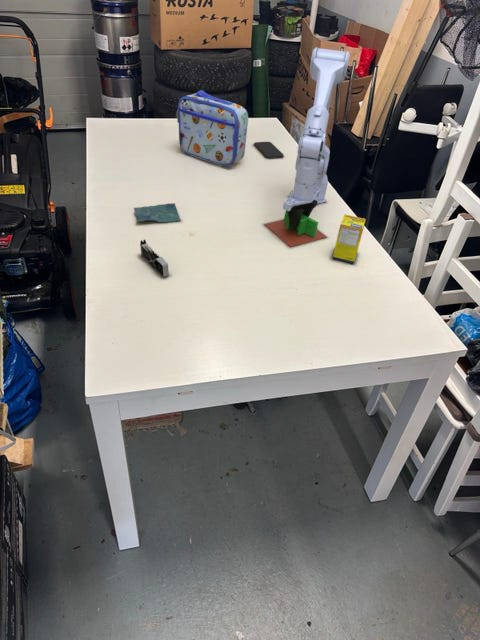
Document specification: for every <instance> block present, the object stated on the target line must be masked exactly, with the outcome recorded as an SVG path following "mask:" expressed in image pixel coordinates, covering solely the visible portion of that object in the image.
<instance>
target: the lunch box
mask: <svg viewBox="0 0 480 640" xmlns="http://www.w3.org/2000/svg"><path fill="white" fill-rule="evenodd" d="M175 118H177V119H176V120H177V121H176V122H177V124H178V142H179V147H180V149H181V151H183V152H184V153H185V154H186V155H189V156H191V157H193V158H196V159H199V160H202V161H204V162H207V163H212V164H216V165H220V166H223V167H230V166H232V165H233V164H235V163H236V162H240V161H242V160H243V159H244V156H245V153H246V145H247V144H246V143H247V134H248V127H249V126H248V125H249V113H248V111H247V109H245V107H243V106H242V105H240V104H237V103H235V102H231V101H228V100H225V99H222V98H218V97H214V96H212V95H211V94H209V93H207V92H206V91H204V90H203V89H200V90H198V91H196V93H192V94H187V95H185V96H182V97H180V99H179V101H178V103H177V111H176V114H175Z"/></svg>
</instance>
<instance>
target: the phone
mask: <svg viewBox="0 0 480 640" xmlns="http://www.w3.org/2000/svg"><path fill="white" fill-rule="evenodd" d="M253 146H254V147H255V148H256V149H257V150H258V151H259V152H260V153H261V154H262V155H263V156H264V157H265V158H266V159H279V158H284V156H285V155H284V153H283V152H281V151H280V150H279V148H278V147H276V146H275V145H274V144H273V142H271V141H256V142H254V143H253Z"/></svg>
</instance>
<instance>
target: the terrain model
mask: <svg viewBox="0 0 480 640" xmlns="http://www.w3.org/2000/svg"><path fill="white" fill-rule="evenodd" d="M133 210H134V214H135V217H136V222H145V221H153V222H158V223H167V222H173V223H174V222H179V221H181V217H180V215H179V211H178V209H177V206H176V203H174V202H172V203H164V204H163V203H162V204H156V205H149V206H141V207H133Z"/></svg>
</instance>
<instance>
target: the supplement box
mask: <svg viewBox="0 0 480 640" xmlns="http://www.w3.org/2000/svg"><path fill="white" fill-rule="evenodd" d="M366 220H367V219H366V218H364V217H363V218H362V217H359V216H353V215H350V214H343V217H342V219H341V223H340V225H339V228H338V233H337V237H336V242H335V246H334V251H333V255H332V260H336V261H341V262H344V263H349V264H352V265H353V264H355V260H356V258H357V254H358V250H359V247H360V243H361V238H362V236H363V232H364V228H365V224H366Z"/></svg>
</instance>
